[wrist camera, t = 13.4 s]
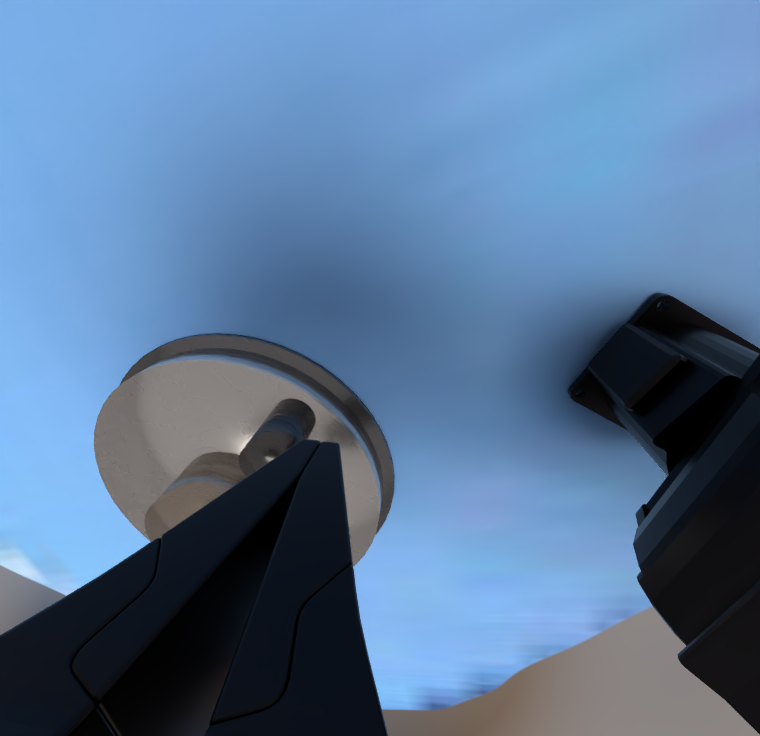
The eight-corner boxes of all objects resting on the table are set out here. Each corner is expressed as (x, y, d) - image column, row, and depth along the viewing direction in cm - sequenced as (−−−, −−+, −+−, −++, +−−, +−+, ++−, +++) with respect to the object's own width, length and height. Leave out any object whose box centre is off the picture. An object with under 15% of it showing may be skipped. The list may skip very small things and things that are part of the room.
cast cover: (291, 532, 24) (267, 586, 20) (201, 525, 25) (165, 577, 21) (271, 453, 21) (241, 501, 17) (171, 450, 22) (124, 495, 18)
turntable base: (452, 432, 22) (453, 435, 21) (325, 597, 30) (324, 600, 30) (138, 270, 20) (134, 271, 19) (100, 496, 29) (97, 499, 28)
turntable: (389, 574, 27) (379, 666, 22) (168, 555, 30) (111, 632, 25) (373, 346, 19) (351, 403, 14) (73, 348, 22) (-43, 396, 17)
